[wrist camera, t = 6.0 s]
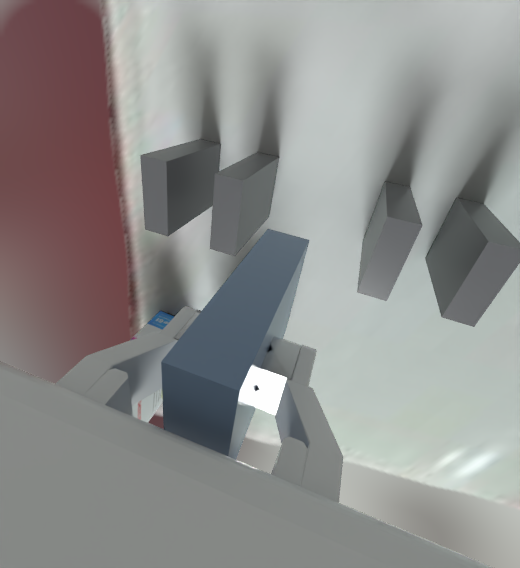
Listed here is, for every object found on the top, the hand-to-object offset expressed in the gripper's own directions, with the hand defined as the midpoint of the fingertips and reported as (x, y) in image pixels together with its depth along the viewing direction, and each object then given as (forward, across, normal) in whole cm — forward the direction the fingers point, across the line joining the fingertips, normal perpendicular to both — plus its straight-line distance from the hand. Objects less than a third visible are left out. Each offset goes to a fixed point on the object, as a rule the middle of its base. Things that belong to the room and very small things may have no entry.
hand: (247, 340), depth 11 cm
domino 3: (+4, 0, 0) cm, 4 cm away
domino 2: (+18, +5, 0) cm, 18 cm away
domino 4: (+18, -5, 0) cm, 18 cm away
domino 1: (+18, +10, 0) cm, 20 cm away
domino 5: (+17, -10, 0) cm, 20 cm away
